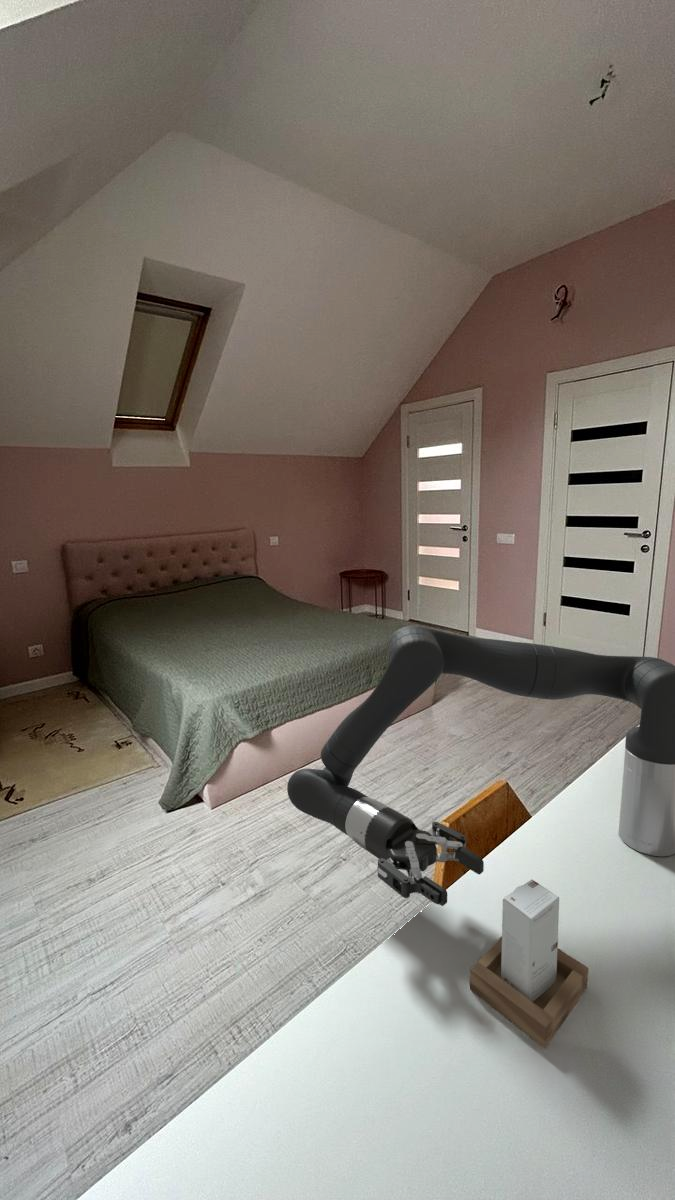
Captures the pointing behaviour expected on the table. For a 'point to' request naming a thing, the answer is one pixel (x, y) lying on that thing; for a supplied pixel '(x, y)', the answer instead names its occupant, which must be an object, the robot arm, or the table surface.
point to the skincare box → (530, 939)
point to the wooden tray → (527, 1015)
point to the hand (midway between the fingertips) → (464, 882)
